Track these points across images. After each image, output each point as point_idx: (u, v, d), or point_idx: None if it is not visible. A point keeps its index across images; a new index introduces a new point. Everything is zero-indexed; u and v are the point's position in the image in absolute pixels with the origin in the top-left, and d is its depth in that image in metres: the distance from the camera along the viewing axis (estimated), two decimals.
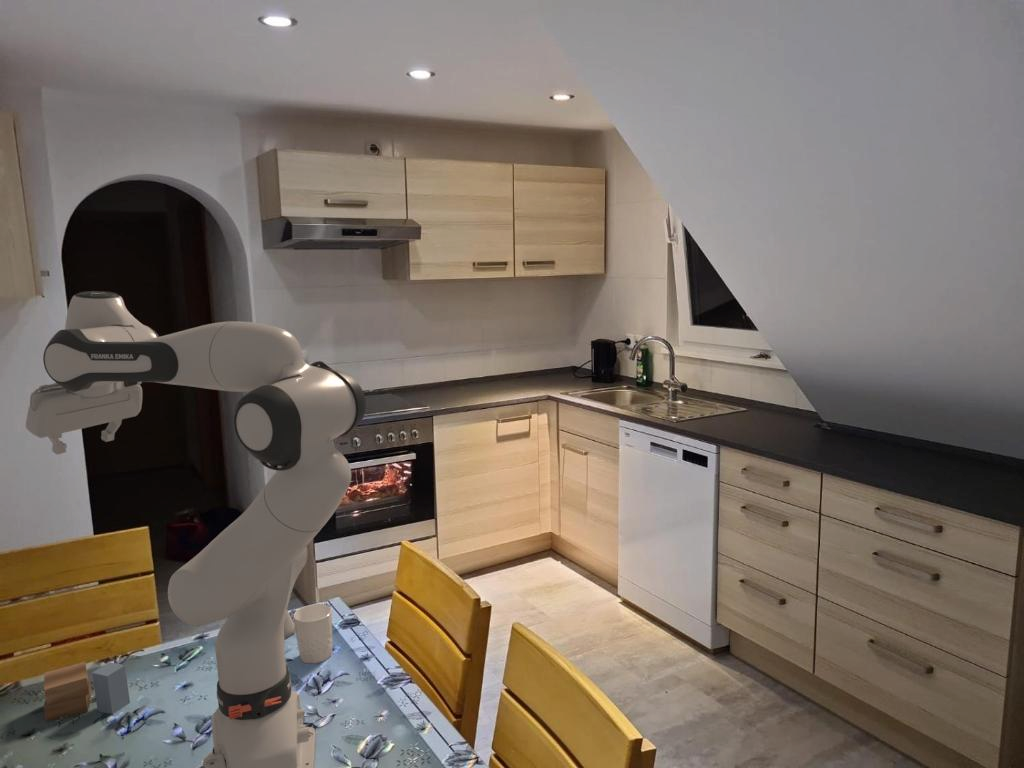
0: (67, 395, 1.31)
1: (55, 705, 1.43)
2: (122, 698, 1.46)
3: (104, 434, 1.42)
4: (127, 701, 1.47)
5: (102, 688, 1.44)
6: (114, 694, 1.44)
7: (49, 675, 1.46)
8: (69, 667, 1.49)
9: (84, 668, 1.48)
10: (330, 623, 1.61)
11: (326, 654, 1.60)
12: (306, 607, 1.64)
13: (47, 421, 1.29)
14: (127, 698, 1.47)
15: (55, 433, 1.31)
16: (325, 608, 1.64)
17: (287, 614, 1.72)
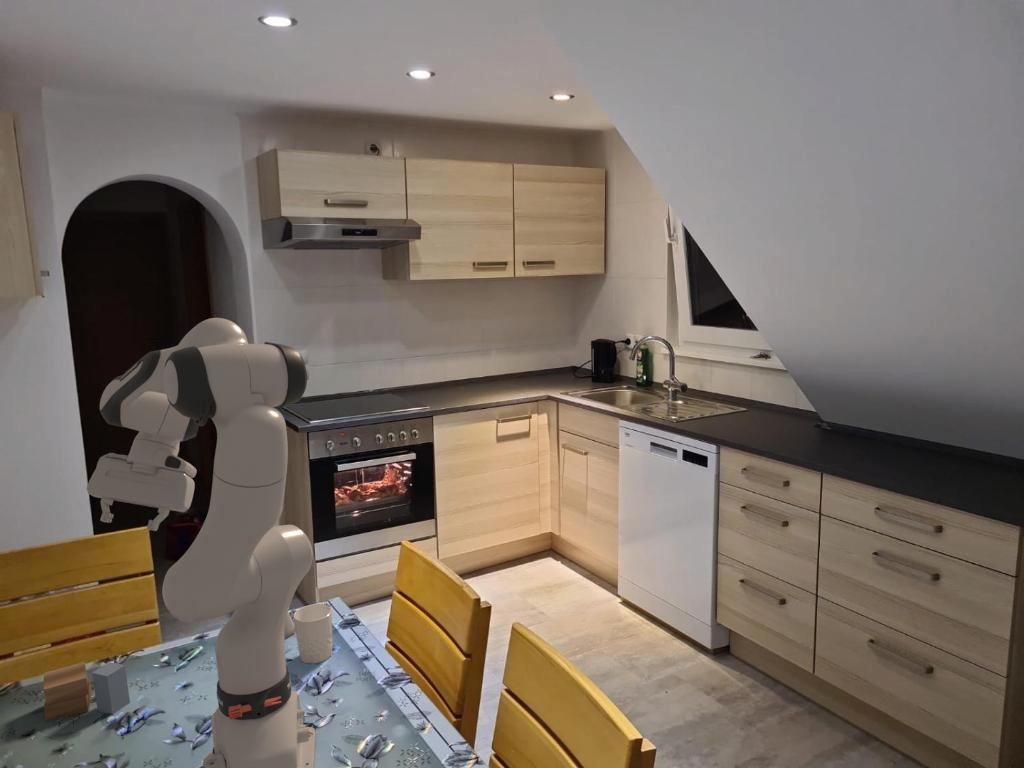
0: (121, 462, 1.53)
1: (55, 705, 1.43)
2: (122, 698, 1.46)
3: None
4: (127, 701, 1.47)
5: (102, 688, 1.44)
6: (114, 694, 1.44)
7: (49, 675, 1.46)
8: (68, 667, 1.49)
9: (83, 668, 1.48)
10: (330, 623, 1.61)
11: (326, 654, 1.60)
12: (306, 607, 1.64)
13: (97, 478, 1.51)
14: (127, 698, 1.47)
15: (100, 493, 1.50)
16: (325, 608, 1.64)
17: (287, 614, 1.72)
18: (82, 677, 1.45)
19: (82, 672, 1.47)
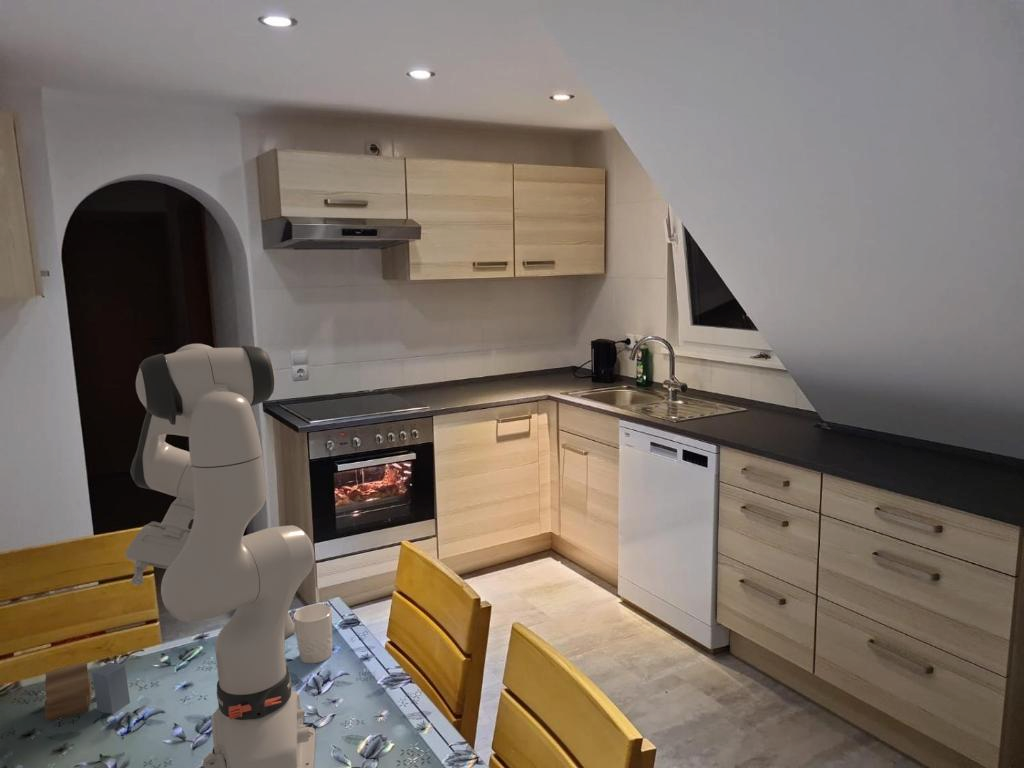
0: (157, 528, 1.62)
1: (55, 706, 1.43)
2: (122, 698, 1.46)
3: None
4: (127, 701, 1.47)
5: (102, 688, 1.44)
6: (114, 694, 1.44)
7: (50, 676, 1.46)
8: (70, 667, 1.49)
9: (85, 668, 1.48)
10: (330, 623, 1.61)
11: (326, 654, 1.60)
12: (306, 607, 1.64)
13: (135, 543, 1.60)
14: (127, 698, 1.47)
15: (134, 557, 1.59)
16: (325, 608, 1.64)
17: (287, 614, 1.72)
18: (83, 677, 1.45)
19: (84, 672, 1.47)
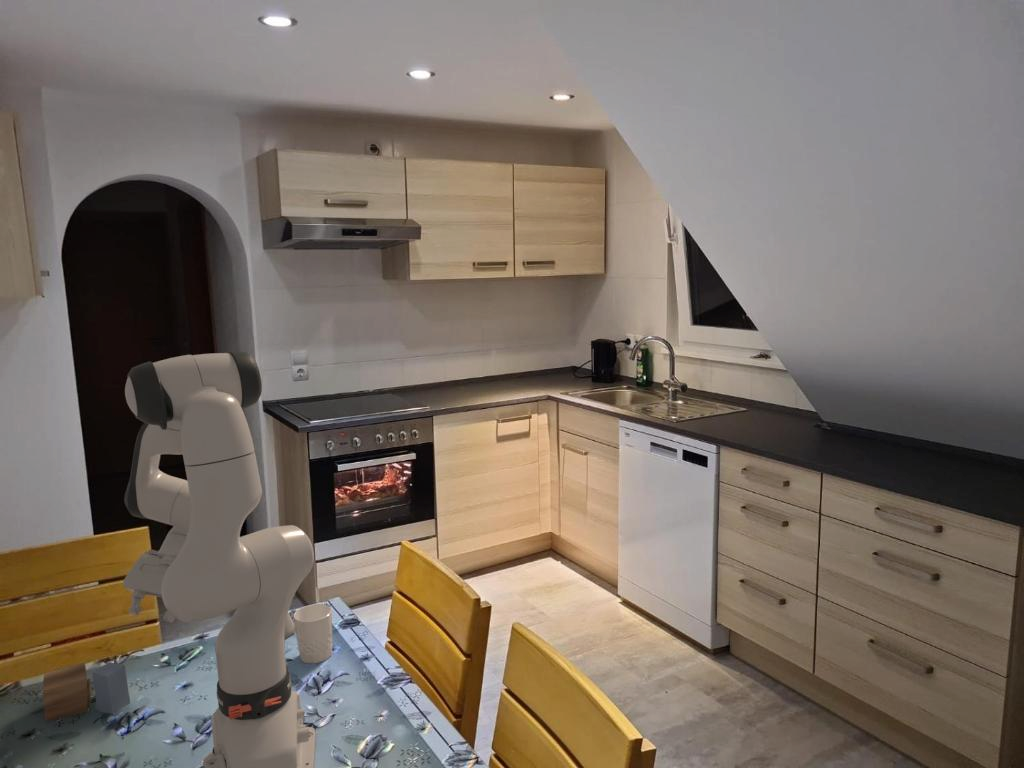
0: (154, 556, 1.61)
1: (55, 706, 1.43)
2: (122, 698, 1.46)
3: None
4: (127, 701, 1.47)
5: (102, 688, 1.44)
6: (114, 694, 1.44)
7: (48, 676, 1.46)
8: (68, 668, 1.48)
9: (83, 669, 1.48)
10: (330, 623, 1.61)
11: (326, 654, 1.60)
12: (306, 607, 1.64)
13: (132, 572, 1.60)
14: (127, 698, 1.47)
15: (132, 586, 1.58)
16: (325, 608, 1.64)
17: (287, 614, 1.72)
18: (81, 678, 1.45)
19: (81, 673, 1.46)
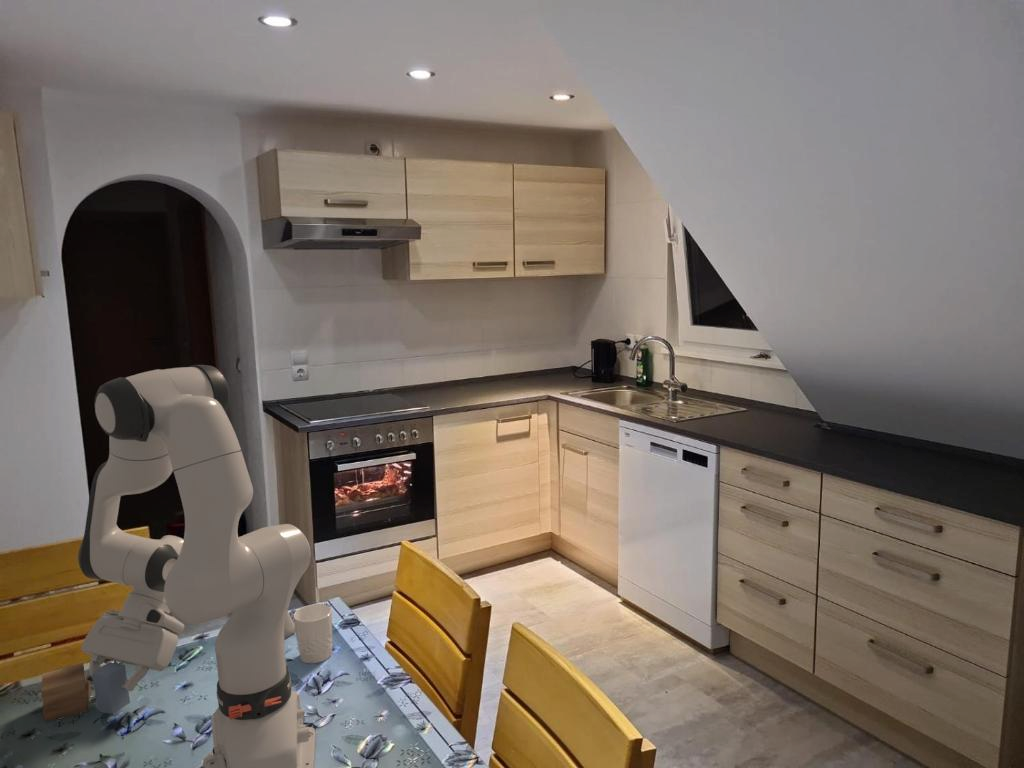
0: (115, 618, 1.52)
1: (54, 706, 1.43)
2: (122, 698, 1.46)
3: None
4: (127, 701, 1.47)
5: (102, 688, 1.44)
6: (114, 694, 1.44)
7: (47, 677, 1.46)
8: (67, 668, 1.48)
9: (82, 669, 1.48)
10: (330, 623, 1.61)
11: (326, 654, 1.60)
12: (306, 607, 1.64)
13: (91, 635, 1.51)
14: (127, 698, 1.47)
15: (90, 650, 1.49)
16: (325, 608, 1.64)
17: (287, 614, 1.72)
18: (80, 679, 1.45)
19: (80, 673, 1.46)
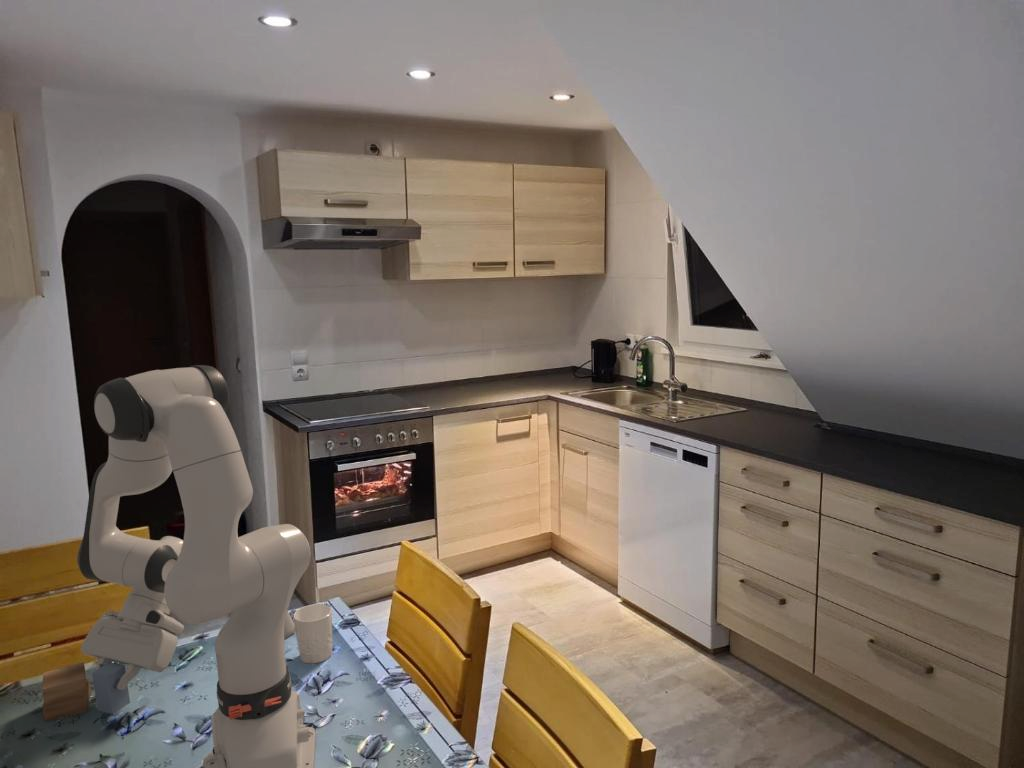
0: (114, 619, 1.52)
1: (54, 705, 1.43)
2: (122, 698, 1.46)
3: None
4: (127, 701, 1.47)
5: (102, 688, 1.44)
6: (114, 694, 1.44)
7: (48, 676, 1.46)
8: (68, 667, 1.49)
9: (82, 668, 1.48)
10: (330, 623, 1.61)
11: (326, 654, 1.60)
12: (306, 607, 1.64)
13: (90, 636, 1.51)
14: (127, 698, 1.47)
15: (89, 651, 1.49)
16: (325, 608, 1.64)
17: (287, 614, 1.72)
18: (80, 677, 1.45)
19: (81, 672, 1.47)
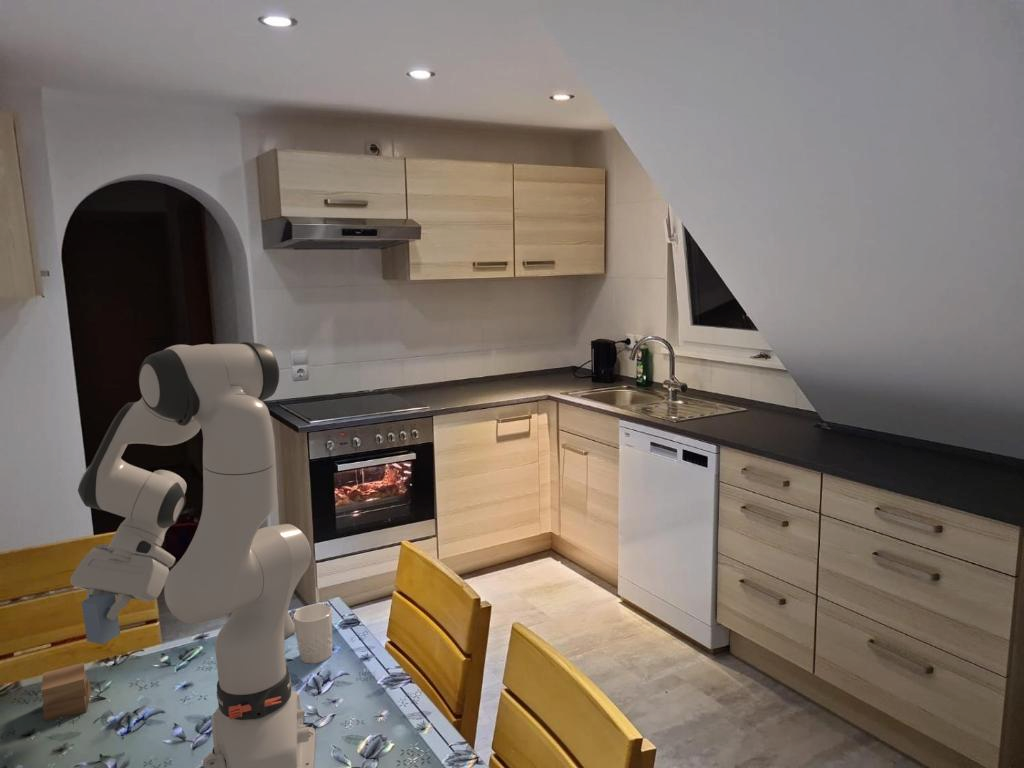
0: (104, 551, 1.50)
1: (53, 706, 1.43)
2: (112, 629, 1.44)
3: None
4: (117, 632, 1.45)
5: (91, 617, 1.41)
6: (104, 624, 1.42)
7: (47, 676, 1.46)
8: (67, 668, 1.49)
9: (82, 669, 1.48)
10: (330, 623, 1.61)
11: (326, 654, 1.60)
12: (306, 607, 1.64)
13: (80, 568, 1.48)
14: (117, 629, 1.45)
15: (79, 583, 1.47)
16: (325, 608, 1.64)
17: (287, 614, 1.72)
18: (80, 678, 1.45)
19: (80, 673, 1.46)
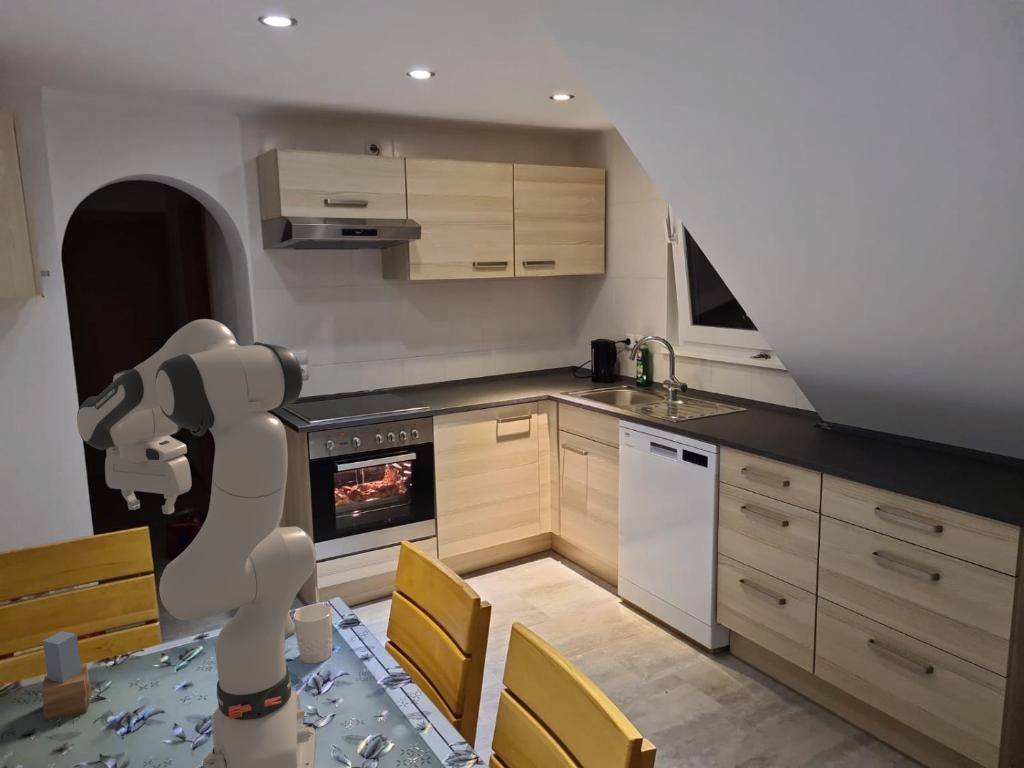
0: (119, 455, 1.55)
1: (54, 706, 1.43)
2: (73, 667, 1.45)
3: None
4: (78, 670, 1.46)
5: (52, 656, 1.43)
6: (65, 663, 1.44)
7: None
8: None
9: (84, 670, 1.48)
10: (330, 623, 1.61)
11: (326, 654, 1.60)
12: (306, 607, 1.64)
13: (109, 474, 1.56)
14: (78, 667, 1.46)
15: (116, 487, 1.56)
16: (325, 608, 1.64)
17: None
18: (80, 679, 1.44)
19: (81, 674, 1.46)
